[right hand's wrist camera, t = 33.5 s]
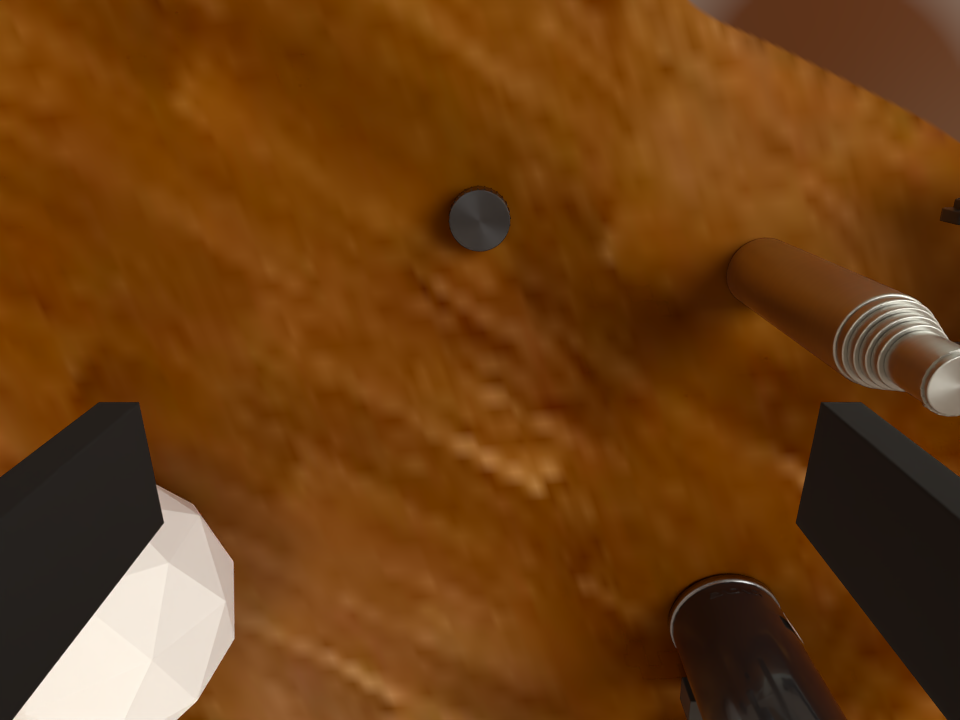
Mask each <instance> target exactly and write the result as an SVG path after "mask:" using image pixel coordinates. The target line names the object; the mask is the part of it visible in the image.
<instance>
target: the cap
mask: <svg viewBox="0 0 960 720" xmlns="http://www.w3.org/2000/svg"><path fill="white" fill-rule="evenodd" d="M509 212H510V211H509V208H507V203H506V201H504V199H503V196H501V195H500V194H498V192H497V191H494V190H492V188H487V187H485V186H484V187H480V186H477V187H471V188H469V189H467V190H466V189H465V190H464V191H463V192H462V193H461V194H459V196H458V197H457V198H455V200H454V203H453V205H452V206H451V211H450V213H449V216H450V217H449V224H450V229H451V232H452V234H453V236H454V238H455V239H456V241H457V242H458V243H459V244H461V245H462V246H463V247H465V248H467V249H469V250H473V251H487V250H490V249H492V248H494V247H496V246H497V245H499V244H500V243H501V242H502V241H503V240H504V238H505V237H506V235H507V233H508V230H509V226H510V219H511V217H510V214H509Z"/></svg>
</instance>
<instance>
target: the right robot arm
mask: <svg viewBox="0 0 960 720" xmlns="http://www.w3.org/2000/svg"><path fill="white" fill-rule="evenodd" d="M163 524H164V520H163V515H162V510H161V505H160V501H159V496H158V491H157V486H156V482H155V477H154V472H153V467H152V463H151V458H150V453H149V448H148V444H147V439H146V434H145V429H144V425H143V420H142V415H141V410H140V406H139V402H99V403H97V404H96V405H95V406H94V407H92V408H91V409H90V410H88V411H87V412H86V413H84V414H83V415H82V416H80V417H79V418H78V419H76V420H75V421H74V422H72V423H71V424H70V425H69V426H67V427H66V428H65V429H63V430H62V431H61V432H59V433H58V434H57V435H55V436H54V437H53V438H51V439H50V440H49V441H47V442H46V443H45V444H44V445H42V446H41V447H40V448H38V449H37V450H36V451H34V452H33V453H32V454H30V455H29V456H28V457H26V458H25V459H24V460H22V461H21V462H20V463H19V464H17V465H16V466H15V467H13V468H12V469H11V470H9V471H8V472H7V473H5V474H4V475H3V476H1V477H0V720H13V719H14V717H15V716H16V715H17V714H18V712H19V711H20V710H21V708H22V707H23V706H24V704H25V703H26V702H27V701H28V699H29V698H30V697H31V695H32V694H33V693H34V691H35V690H36V689H37V688H38V686H39V685H40V684H41V682H42V681H43V680H44V678H45V677H46V676H47V675H48V673H49V672H50V671H51V669H52V668H53V667H54V665H55V664H56V663H57V662H58V660H59V659H60V658H61V656H62V655H63V654H64V652H65V651H66V650H67V649H68V647H69V646H70V645H71V643H72V642H73V641H74V639H75V638H76V637H77V636H78V634H79V633H80V632H81V630H82V629H83V628H84V627H85V625H86V624H87V623H88V621H89V620H90V619H91V617H92V616H93V615H94V614H95V612H96V611H97V610H98V608H99V607H100V606H101V604H102V603H103V602H104V601H105V599H106V598H107V597H108V595H109V594H110V593H111V591H112V590H113V589H114V588H115V586H116V585H117V584H118V582H119V581H120V580H121V578H122V577H123V576H124V575H125V573H126V572H127V571H128V569H129V568H130V567H131V565H132V564H133V563H134V562H135V560H136V559H137V558H138V556H139V555H140V554H141V552H142V551H143V550H144V549H145V547H146V546H147V545H148V543H149V542H150V541H151V539H152V538H153V537H154V536H155V534H156V533H157V532H158V530H159V529H160V528H161V526H162V525H163ZM796 524H797V525H798V526H799V528H800V529H801V530H802V532H803V533H804V534H805V536H806V537H807V538H808V539H809V541H810V542H811V543H812V545H813V546H814V547H815V549H816V550H817V551H818V552H819V554H820V555H821V556H822V558H823V559H824V560H825V562H826V563H827V564H828V565H829V567H830V568H831V569H832V571H833V572H834V573H835V575H836V576H837V577H838V578H839V580H840V581H841V582H842V584H843V585H844V586H845V588H846V589H847V590H848V591H849V593H850V594H851V595H852V597H853V598H854V599H855V601H856V602H857V603H858V604H859V606H860V607H861V608H862V610H863V611H864V612H865V614H866V615H867V616H868V617H869V619H870V620H871V621H872V623H873V624H874V625H875V627H876V628H877V629H878V630H879V632H880V633H881V634H882V636H883V637H884V638H885V639H886V641H887V642H888V643H889V645H890V646H891V647H892V649H893V650H894V651H895V652H896V654H897V655H898V656H899V658H900V659H901V660H902V662H903V663H904V664H905V665H906V667H907V668H908V669H909V671H910V672H911V673H912V675H913V676H914V677H915V678H916V680H917V681H918V682H919V684H920V685H921V686H922V688H923V689H924V690H925V691H926V693H927V694H928V695H929V697H930V698H931V699H932V701H933V702H934V703H935V704H936V706H937V707H938V708H939V710H940V711H941V712H942V714H943V715H944V716H945V717H946V719H947V720H960V477H959V476H957V475H956V474H955V473H953V472H952V471H951V470H949V469H948V468H947V467H945V466H944V465H943V464H941V463H940V462H939V461H938V460H936V459H935V458H934V457H932V456H931V455H930V454H928V453H927V452H926V451H924V450H923V449H922V448H920V447H919V446H918V445H916V444H915V443H914V442H913V441H911V440H910V439H909V438H907V437H906V436H905V435H903V434H902V433H901V432H899V431H898V430H897V429H895V428H894V427H893V426H891V425H890V424H889V423H888V422H886V421H885V420H884V419H882V418H881V417H880V416H878V415H877V414H876V413H874V412H873V411H872V410H870V409H869V408H868V407H866V406H865V405H864V404H863V403H861V402H821V406H820V410H819V415H818V420H817V425H816V429H815V434H814V439H813V444H812V448H811V453H810V458H809V463H808V467H807V472H806V477H805V482H804V486H803V491H802V496H801V501H800V505H799V510H798V515H797V520H796Z"/></svg>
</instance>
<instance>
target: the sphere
mask: <svg viewBox="0 0 960 720" xmlns="http://www.w3.org/2000/svg"><path fill="white" fill-rule="evenodd" d="M156 486H157V491H158V496H159V501H160V505H161V510H162V515H163V520H164V524H163V525H162V526H161V528H160V529H159V530H158V532H157V533H156V534H155V536H154V537H153V538H152V539H151V541H150V542H149V543H148V545H147V546H146V547H145V549H144V550H143V551H142V552H141V554H140V555H139V556H138V558H137V559H136V560H135V562H134V563H133V564H132V565H131V567H130V568H129V569H128V571H127V572H126V573H125V575H124V576H123V577H122V578H121V580H120V581H119V582H118V584H117V585H116V586H115V588H114V589H113V590H112V591H111V593H110V594H109V595H108V597H107V598H106V599H105V601H104V602H103V603H102V604H101V606H100V607H99V608H98V610H97V611H96V612H95V614H94V615H93V616H92V617H91V619H90V620H89V621H88V623H87V624H86V625H85V627H84V628H83V629H82V630H81V632H80V633H79V634H78V636H77V637H76V638H75V639H74V641H73V642H72V643H71V645H70V646H69V647H68V649H67V650H66V651H65V652H64V654H63V655H62V656H61V658H60V659H59V660H58V662H57V663H56V664H55V665H54V667H53V668H52V669H51V671H50V672H49V673H48V675H47V676H46V677H45V678H44V680H43V681H42V682H41V684H40V685H39V686H38V688H37V689H36V690H35V691H34V693H33V694H32V695H31V697H30V698H29V699H28V701H27V702H26V703H25V704H24V706H23V707H22V708H21V710H20V711H19V712H18V714H17V715H16V716H15V717H14V719H13V720H177V719H178V718H179V717H180V716H181V715H182V714H183V713H184V712H185V711H187V710H188V709H189V708H190V707H191V706H192V705H193V704H194V703H195V702H196V701H197V700H198V698H199V697H200V695H201V693H202V692H203V690H204V688H205V687H206V685H207V683H208V682H209V680H210V678H211V677H212V675H213V673H214V672H215V670H216V668H217V667H218V665H219V663H220V662H221V660H222V658H223V657H224V655H225V653H226V652H227V650H228V648H229V647H230V645H231V643H232V642H233V640H234V562H233V560H232V559H231V557H230V556H229V555H228V553H227V552H226V550H225V549H224V547H223V546H222V545H221V543H220V542H219V540H218V539H217V537H216V536H215V535H214V533H213V532H212V530H211V529H210V527H209V526H208V525H207V523H206V522H205V520H204V519H203V517H202V516H201V515H200V513H199V512H198V510H197V509H196V507H195V506H194V505H193V504H192V503H190V502H188V501H186V500H184V499H183V498H181V497H179V496H177V495H175V494H173V493H171V492H169V491H167V490H166V489H164V488H162V487H160V486H158V485H156Z"/></svg>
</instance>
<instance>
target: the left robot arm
mask: <svg viewBox="0 0 960 720" xmlns="http://www.w3.org/2000/svg"><path fill="white" fill-rule="evenodd" d="M940 221H944V222H948V223H952V224H957V225H960V198H958V199H955V203H954V207H948V208H942V212H941V217H940ZM954 343H956V344H958V345H960V342H954ZM789 623H790V622H789V620H788V619H786V616H785V615H784V613H783V612H782V611H781V608H780V606H779V603H778V602H777V600H776V598H775V597H774V595H773V593H772V592H771V591H770V590H769V589H768V588H767V587H766V586H765V585H764V584H763V583H761V582H759V581H758V580H755V579H753V578H750V577H747V576H743V575H735V574H726V575H718V576H713V577H709V578H706V579H704V580H701V581H699V582H697V583H695V584H694V585H692V586H690V587H689V588H688V589H686V590H685V591H684V592H683V593H682V594H681V595H680V596H679V597H678V598H677V600H676V601H675V603H674V604H673V606H672V608H671V611H670V614H669V619H668V627H669V632H670V635H671V638H672V641H673V643H674V645H675V647H676V648H677V651H678V654H679V656H680V659H681V662H682V665H683V667H684V670H685V673H686V676H687V677H682V682H681V694H680V700H681V703H682V706H683V709H684V712H685V714H686V717H687V720H847V719H846V717H845V715H844V714H843V712H842V710H841V709H840V707H839V705H838V704H837V702H836V700H835V699H834V697H833V695H832V694H831V692H830V690H829V689H828V687H827V685H826V684H825V682H824V680H823V679H822V677H821V675H820V674H819V672H818V670H817V669H816V667H815V665H814V664H813V662H812V660H811V659H810V657H809V656H808V654H807V652H806V651H805V649H804V647H803V646H802V644H801V642H800V641H799V639H798V637H797V636H796V634H797V635H798V633H797V632H796V631H795V629H794V628H793V626H792V625H791V623H790V624H789ZM791 626H792V627H791ZM792 628H793V629H794V630H793V629H792ZM794 631H795V632H796V634H795V632H794ZM798 636H799V635H798ZM799 638H800V637H799ZM800 639H801V638H800ZM801 641H802V640H801ZM803 644H804V643H803Z"/></svg>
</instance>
